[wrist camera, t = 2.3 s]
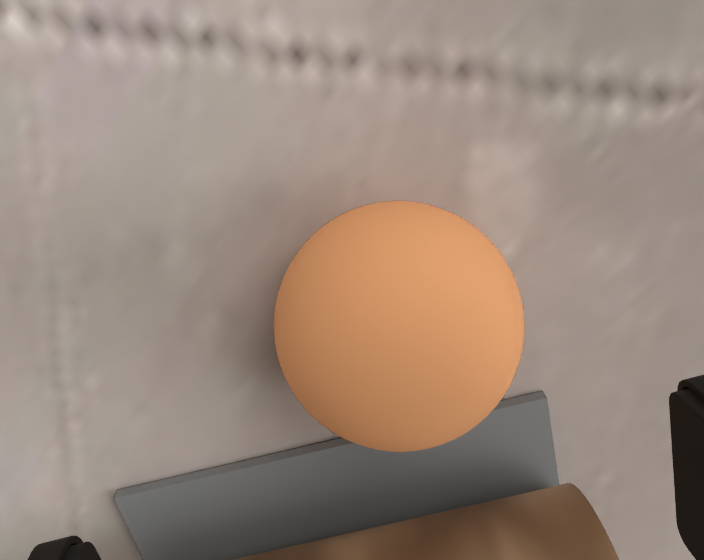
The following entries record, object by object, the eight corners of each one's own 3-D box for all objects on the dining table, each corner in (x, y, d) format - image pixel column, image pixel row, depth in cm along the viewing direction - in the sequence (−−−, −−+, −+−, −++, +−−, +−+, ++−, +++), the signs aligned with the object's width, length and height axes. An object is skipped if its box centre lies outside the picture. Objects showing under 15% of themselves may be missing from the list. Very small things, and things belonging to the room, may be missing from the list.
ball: (469, 151, 17) (544, 214, 12) (502, 343, 19) (577, 473, 14) (254, 205, 17) (225, 293, 12) (310, 388, 20) (309, 535, 14)
